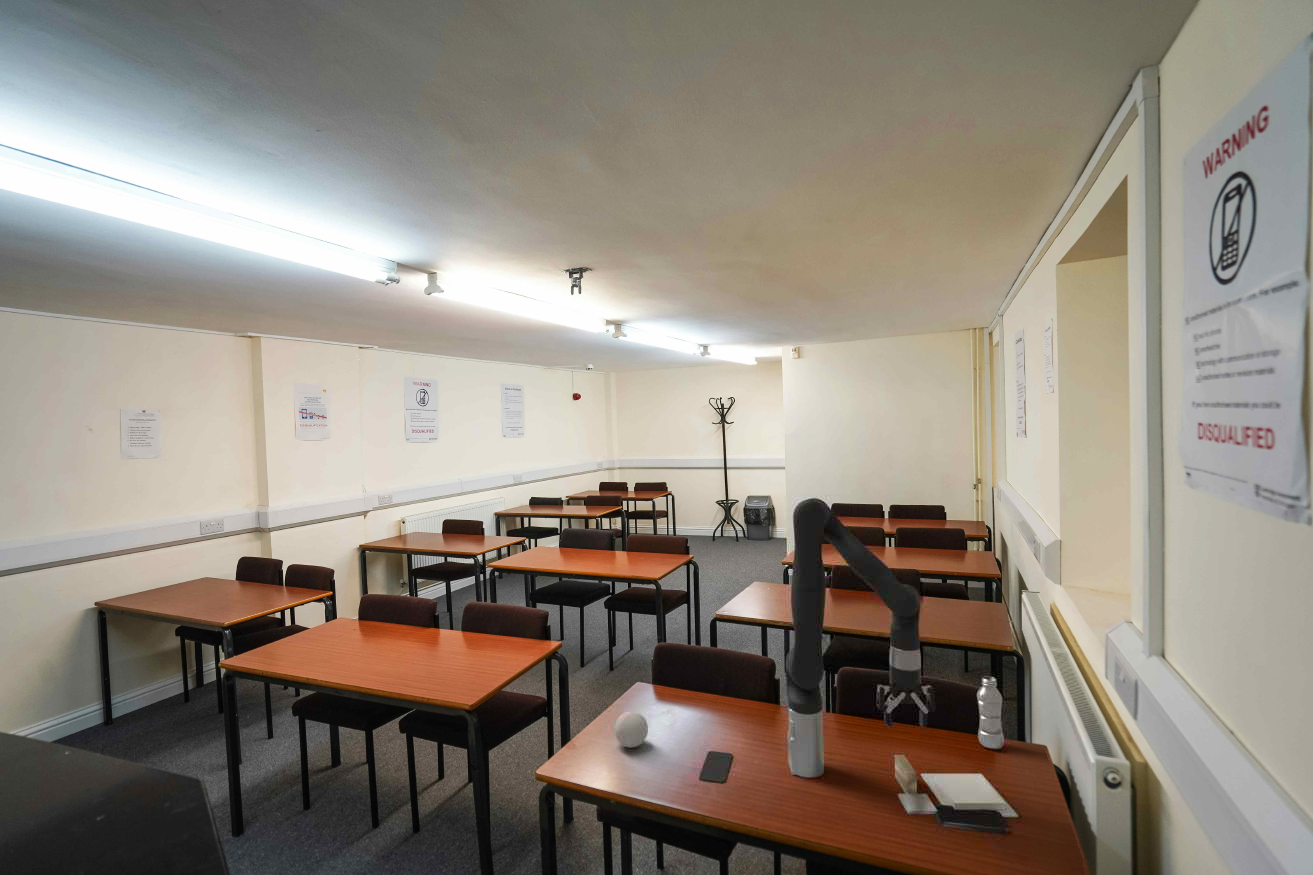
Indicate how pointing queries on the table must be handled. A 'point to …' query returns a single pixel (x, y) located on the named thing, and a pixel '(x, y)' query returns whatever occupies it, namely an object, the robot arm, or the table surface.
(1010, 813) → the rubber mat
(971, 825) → the phone
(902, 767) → the scraper
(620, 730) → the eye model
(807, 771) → the robot arm
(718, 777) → the phone
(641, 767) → the table surface
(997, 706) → the plastic bottle
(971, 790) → the tile
